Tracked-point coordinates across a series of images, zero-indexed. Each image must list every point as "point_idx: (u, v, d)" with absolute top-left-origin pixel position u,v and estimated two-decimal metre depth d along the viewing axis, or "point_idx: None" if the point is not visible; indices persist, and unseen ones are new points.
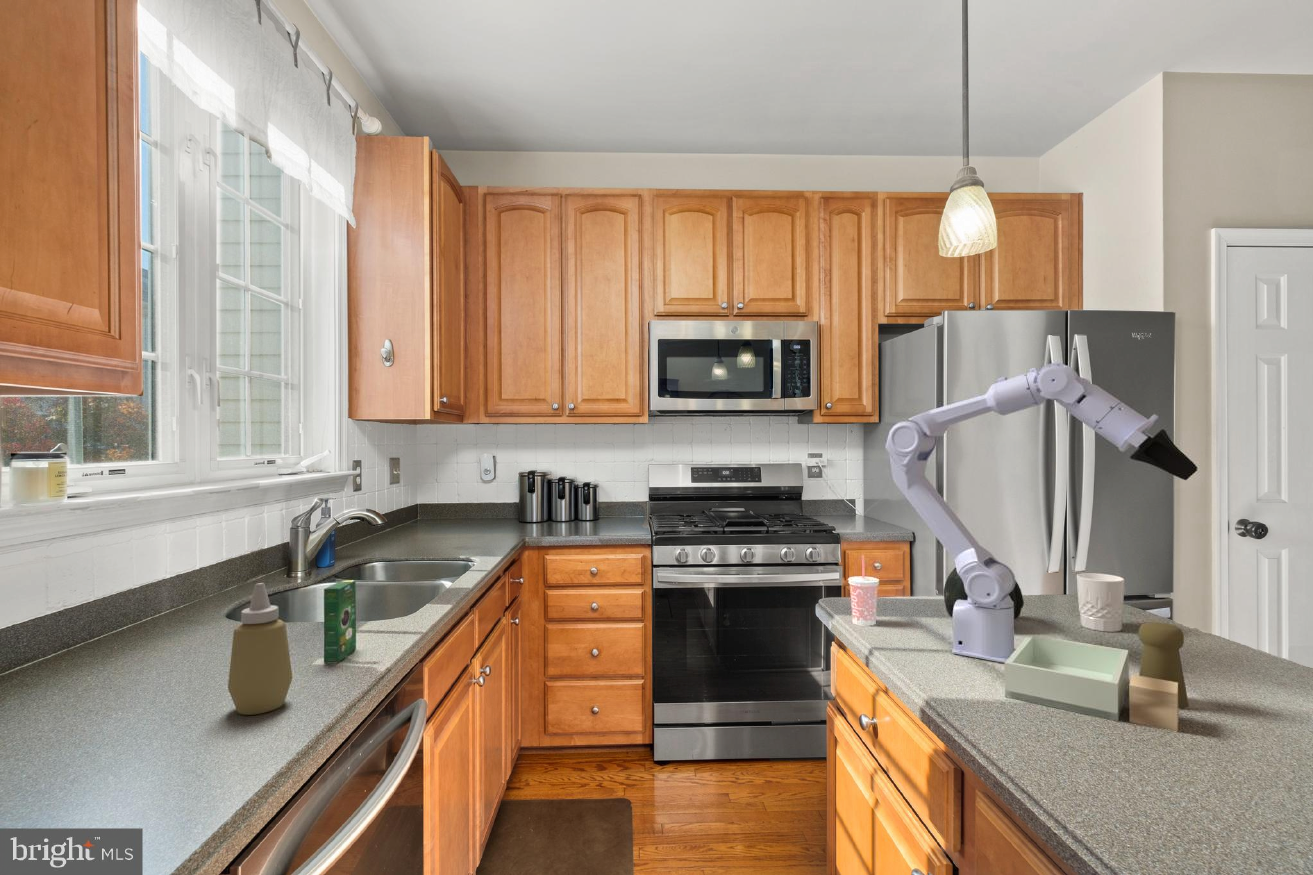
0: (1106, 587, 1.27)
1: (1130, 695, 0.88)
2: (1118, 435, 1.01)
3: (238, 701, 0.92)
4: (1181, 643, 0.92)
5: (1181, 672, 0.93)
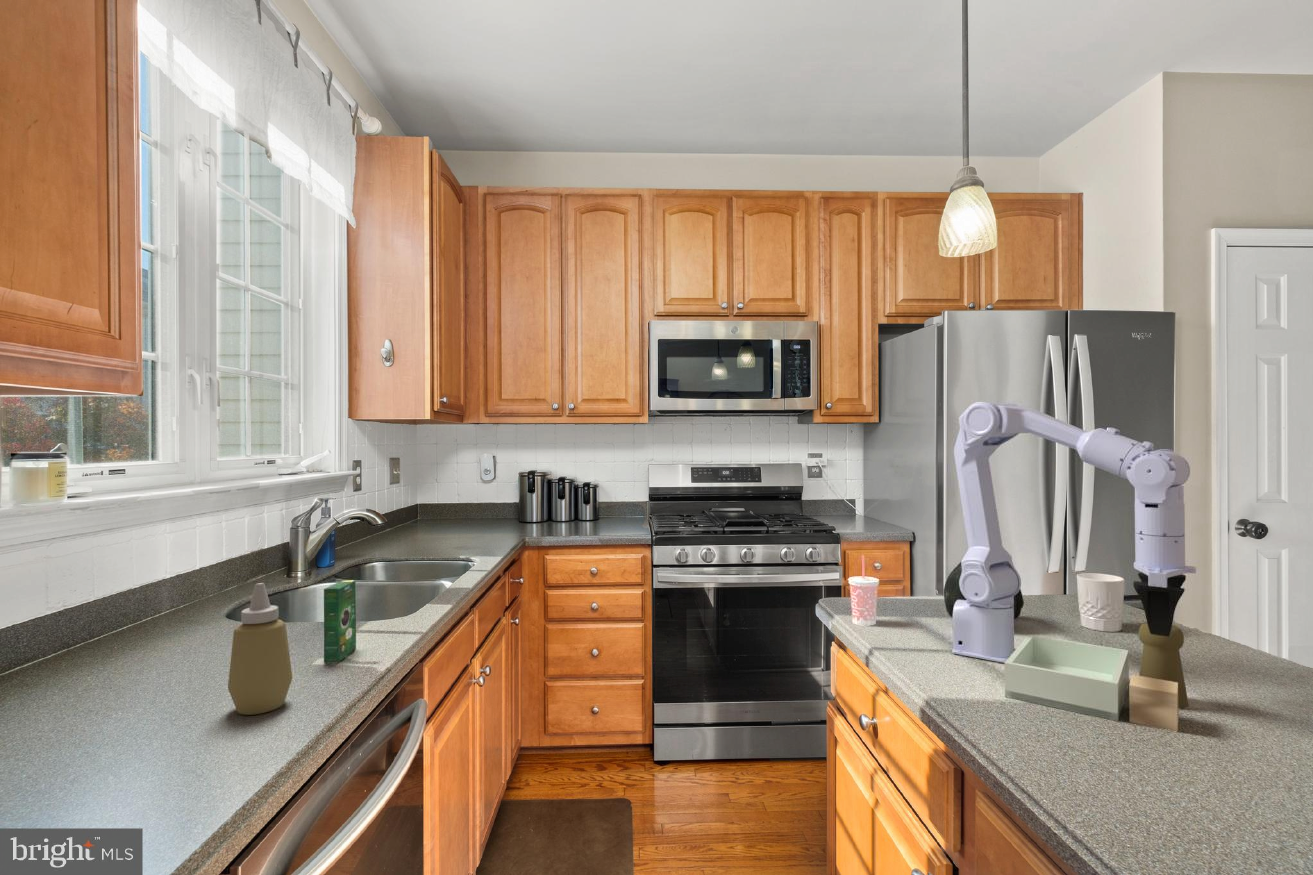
0: (1106, 587, 1.27)
1: (1130, 695, 0.88)
2: (1147, 558, 0.94)
3: (238, 701, 0.92)
4: (1181, 643, 0.92)
5: (1181, 672, 0.93)
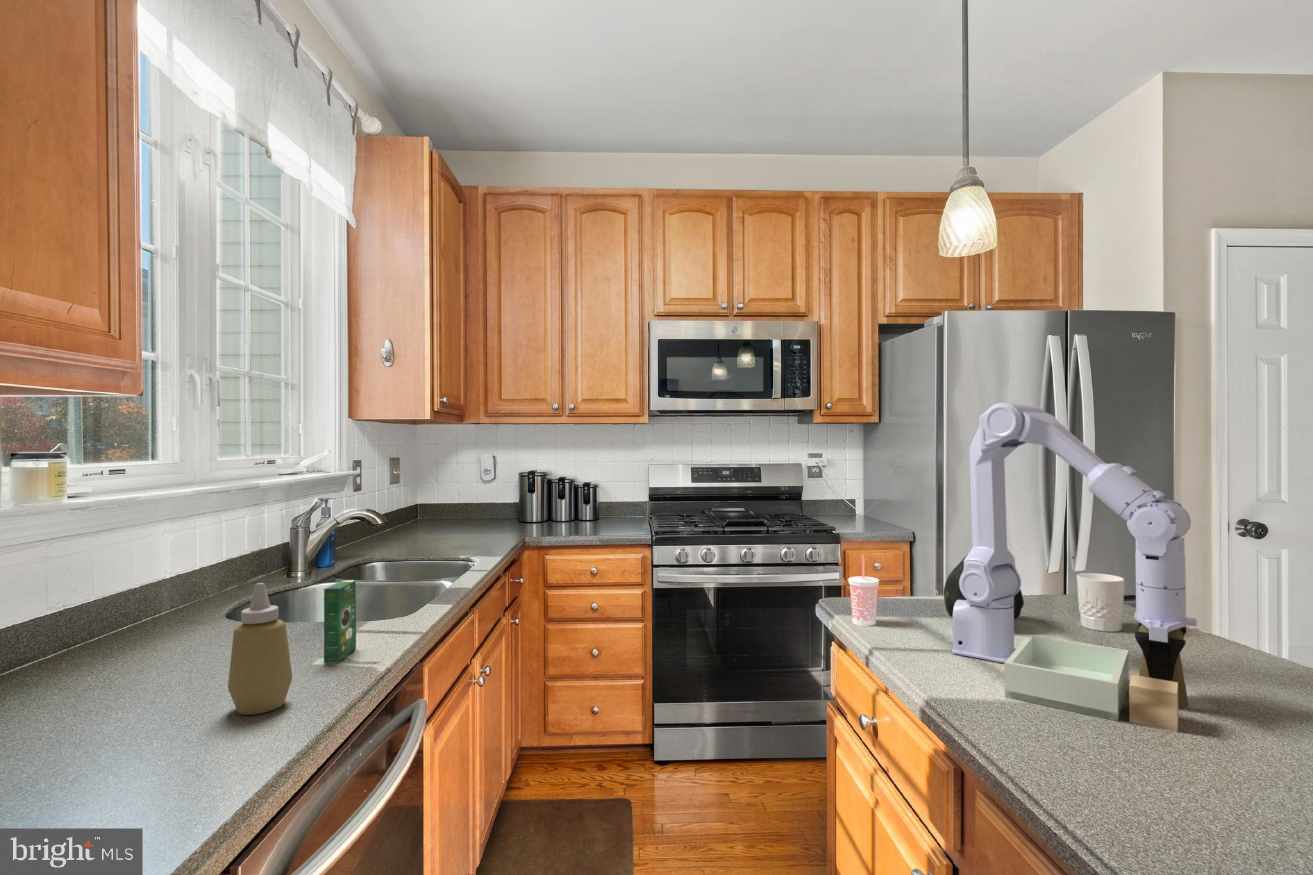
0: (1106, 587, 1.27)
1: (1130, 695, 0.88)
2: (1148, 609, 0.94)
3: (238, 701, 0.92)
4: None
5: (1181, 672, 0.93)
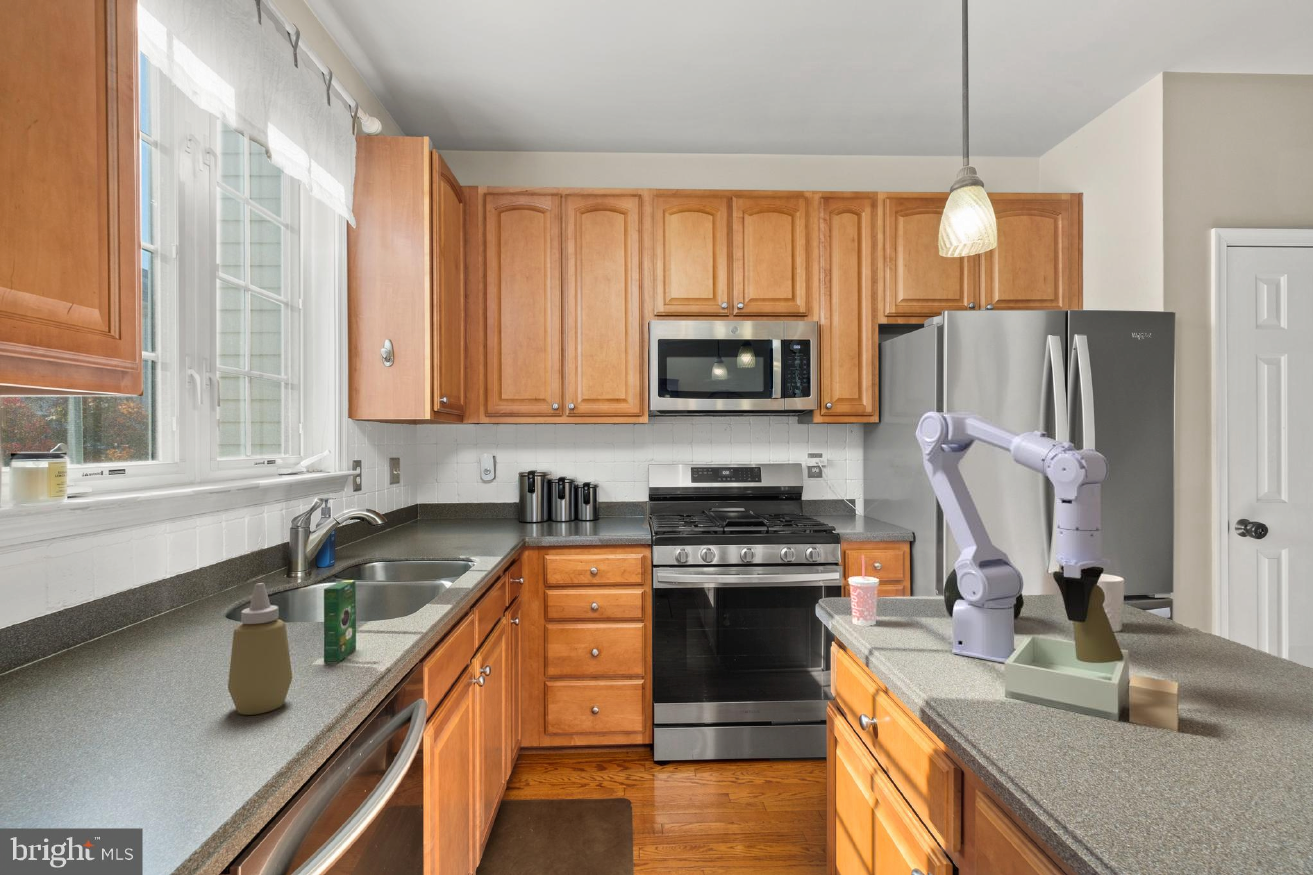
0: (1106, 587, 1.27)
1: (1130, 695, 0.88)
2: (1066, 550, 1.00)
3: (238, 701, 0.92)
4: (1102, 599, 0.98)
5: (1108, 626, 0.98)
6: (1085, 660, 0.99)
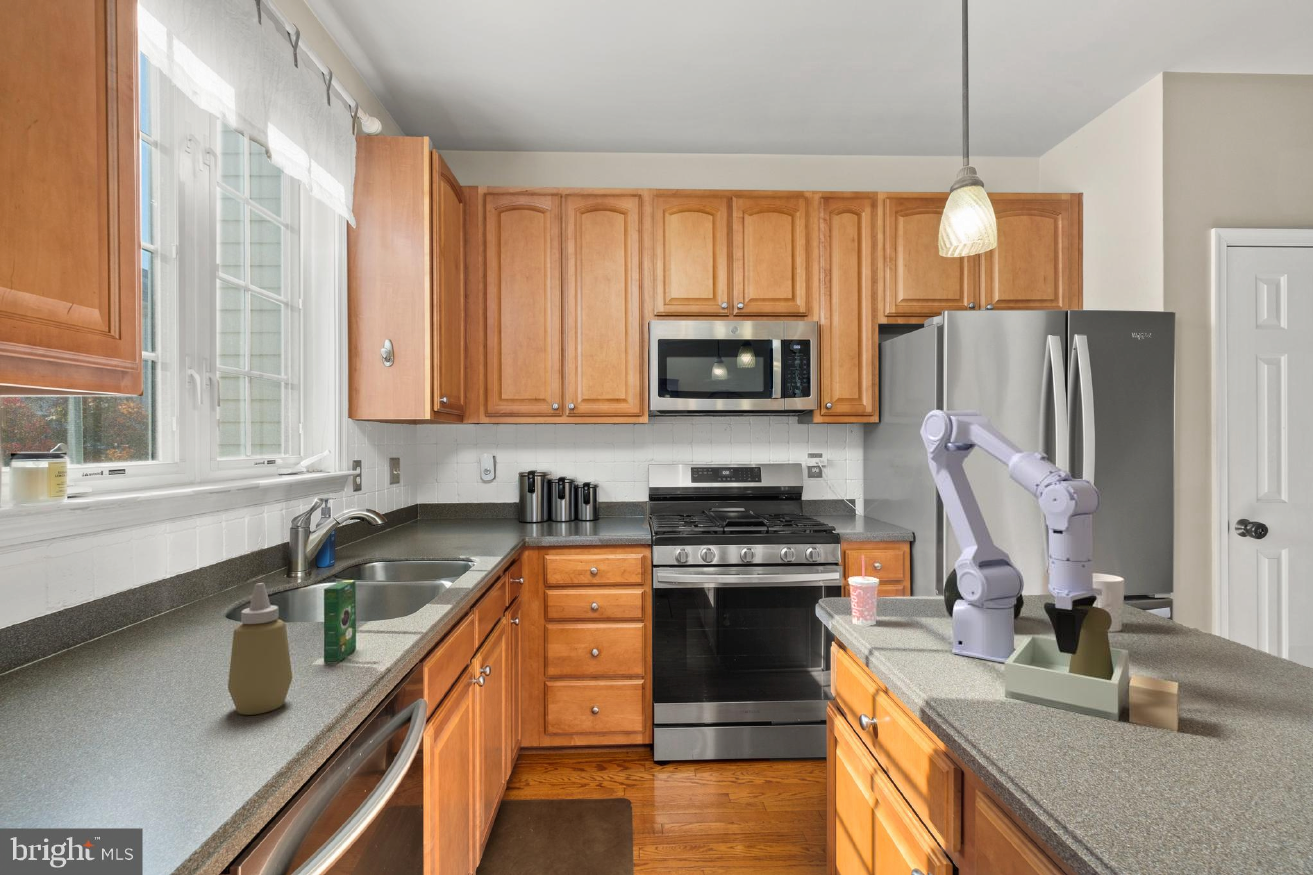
0: (1106, 587, 1.27)
1: (1130, 695, 0.88)
2: (1058, 581, 1.01)
3: (238, 701, 0.92)
4: (1108, 625, 0.98)
5: (1108, 653, 0.98)
6: None
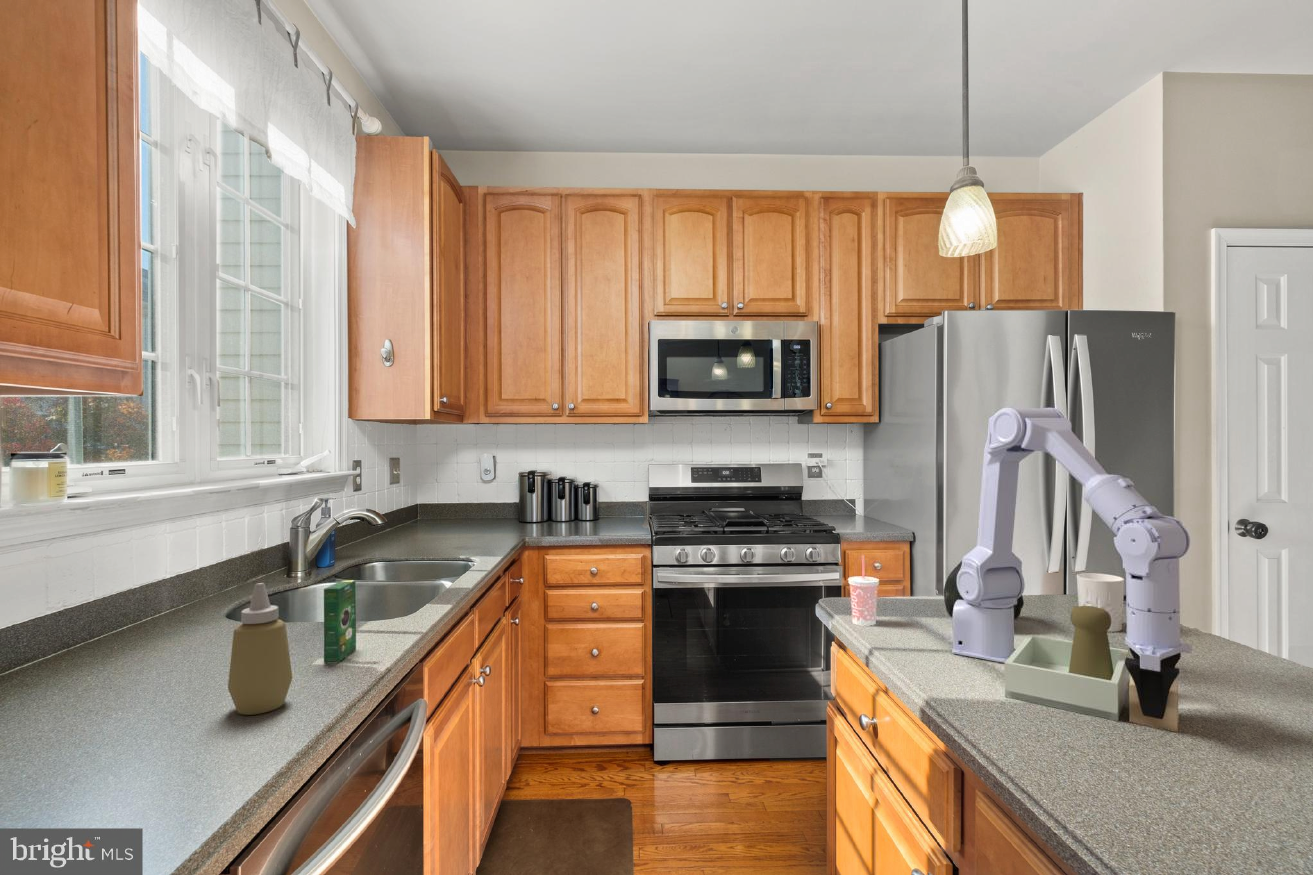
0: (1106, 587, 1.27)
1: (1130, 694, 0.88)
2: (1139, 634, 0.87)
3: (238, 701, 0.92)
4: (1108, 625, 0.98)
5: (1108, 653, 0.98)
6: None
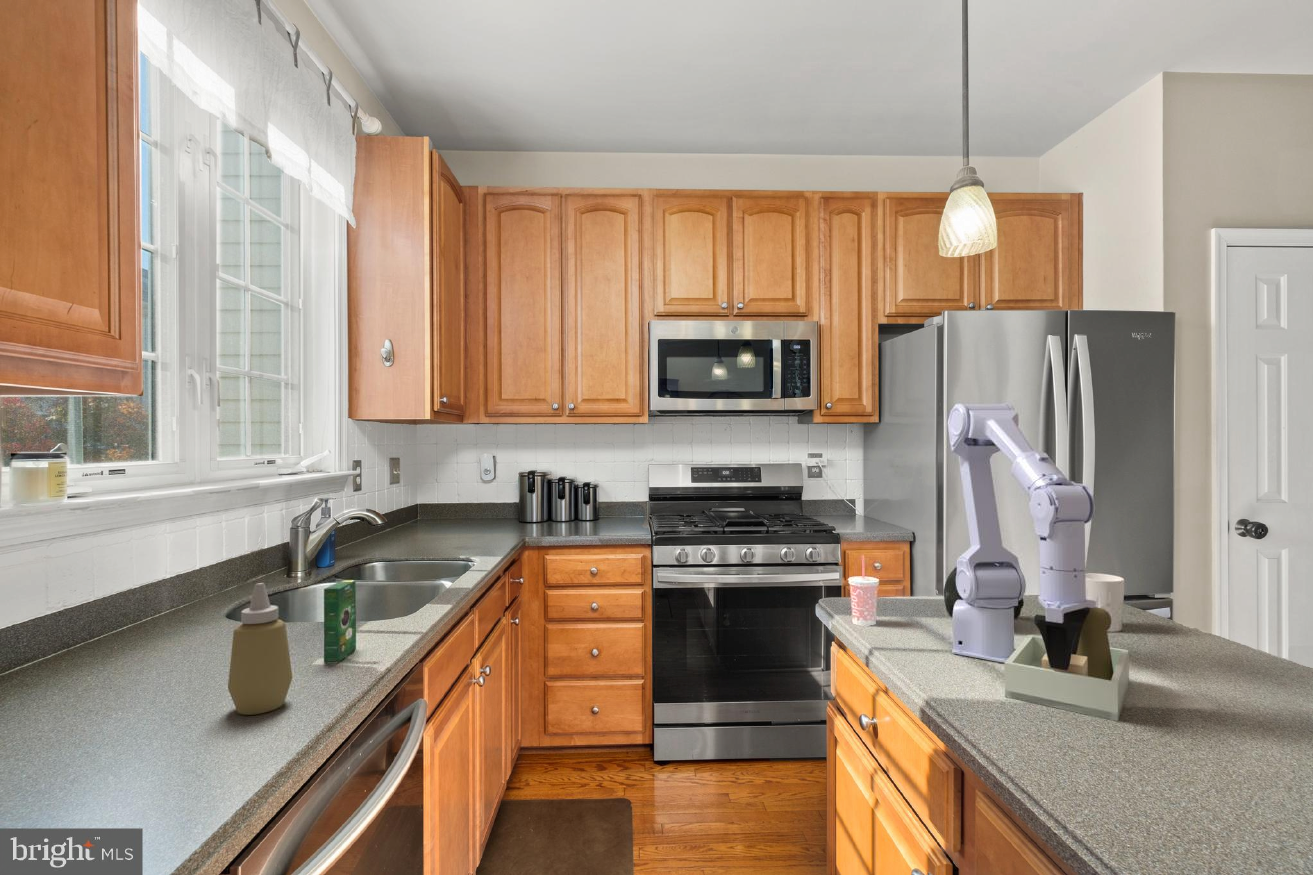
0: (1106, 587, 1.27)
1: None
2: (1048, 592, 0.94)
3: (238, 701, 0.92)
4: (1108, 625, 0.98)
5: (1108, 652, 0.98)
6: None
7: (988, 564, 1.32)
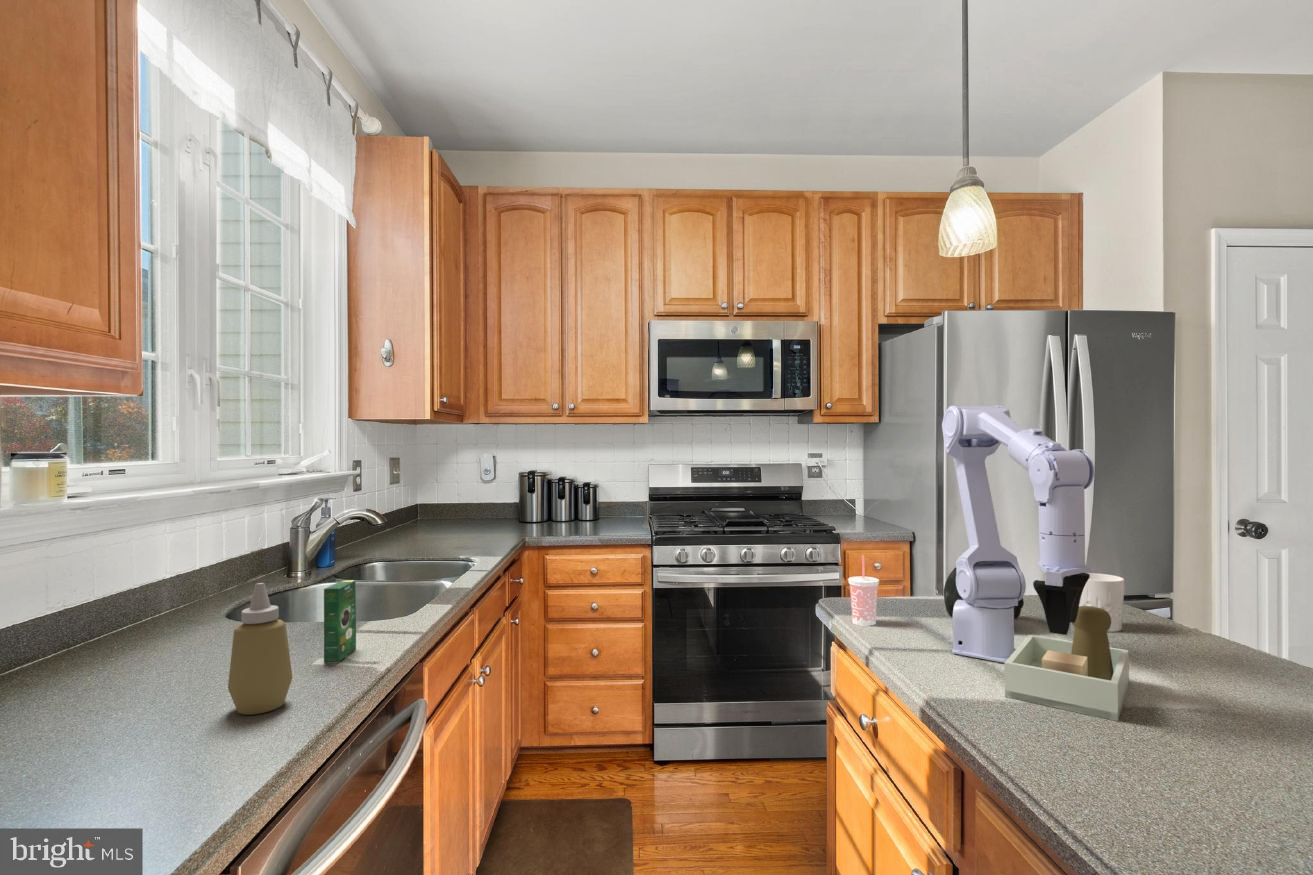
0: (1106, 587, 1.27)
1: None
2: (1048, 557, 0.94)
3: (238, 701, 0.92)
4: (1108, 625, 0.98)
5: (1108, 653, 0.98)
6: None
7: (988, 564, 1.32)
